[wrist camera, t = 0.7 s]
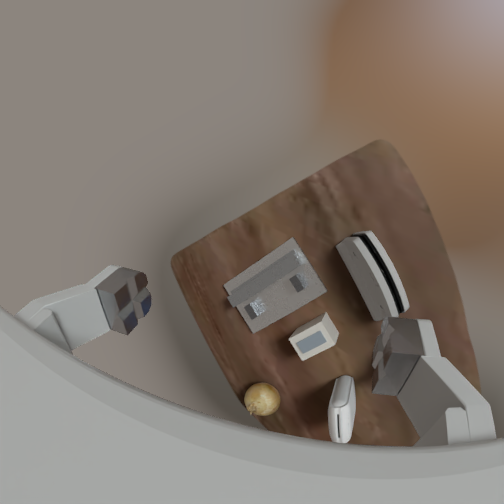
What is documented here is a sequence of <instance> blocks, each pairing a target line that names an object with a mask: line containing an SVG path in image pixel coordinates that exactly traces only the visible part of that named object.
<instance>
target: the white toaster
mask: <svg viewBox="0 0 504 504" xmlns="http://www.w3.org/2000/svg"><path fill="white" fill-rule="evenodd" d="M352 235H353V236H352V237H346V238H345V239H344V240H343V241H342V242H340V243H339V244H338V245H336V248H337V250H338V252H339V254H340V255H341V257H342V259H343V261H344V263H345V265H346V267H347V268H348V270H349V272H350V274H351V276H352V278H353V280H354V282H355V284H356V286H357V287H358V289H359V291H360V293H361V295H362V297H363V299H364V301H365V303H366V305H367V307H368V309H369V311H370V313H371V315H372V318H373V320H375V321H379V320H382V319H384V318H385V316H390V317H398V315H399V314H400V313H404V312H405V311H406V310H407V309H408V308H409V303H408V299H407V296H406V293H405V290H404V288H403V285H402V283H401V280H400V278H399V276H398V274H397V272H396V269H395V267H394V265H393V264H392V262H391V260H390V258H389V256H388V255H387V253H386V251H385V250H384V248H383V246H382V245H381V243H380V242H379V241H378V239H377V238H376V236H375V235H374V234H373V232H372V231H363V232H357V233H354V234H352Z"/></svg>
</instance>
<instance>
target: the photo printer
mask: <svg viewBox="0 0 504 504" xmlns="http://www.w3.org/2000/svg"><path fill="white" fill-rule="evenodd" d="M355 409H356V399H355V386H354V380H353V377H352V378H351V377H350V376H346V375H344V376H341V377H339V378H338V379H336V381H335V385H334V389H333V392H332V396H331V399H330V403H329V407H328V424H329V433H330V437H331V439H332V441H333V442H337V443H347V442H348V441H349V440H350V438H351V434H352V429H353V423H354V417H355Z"/></svg>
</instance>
